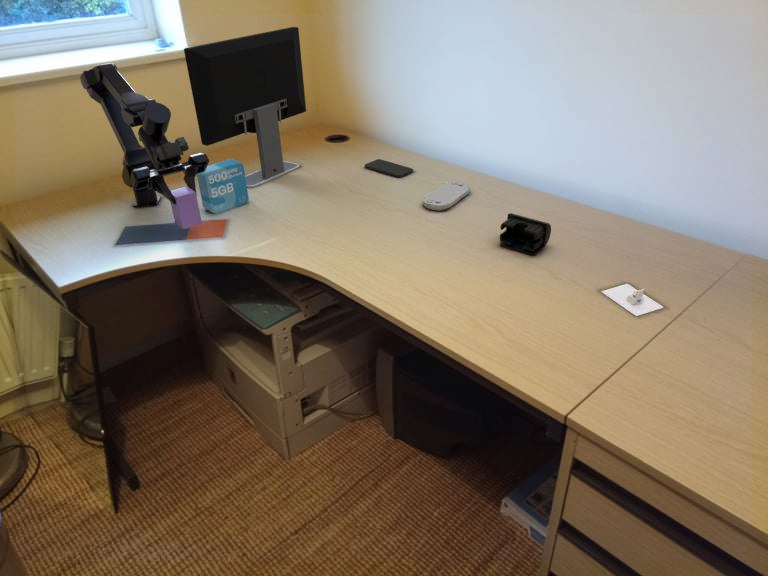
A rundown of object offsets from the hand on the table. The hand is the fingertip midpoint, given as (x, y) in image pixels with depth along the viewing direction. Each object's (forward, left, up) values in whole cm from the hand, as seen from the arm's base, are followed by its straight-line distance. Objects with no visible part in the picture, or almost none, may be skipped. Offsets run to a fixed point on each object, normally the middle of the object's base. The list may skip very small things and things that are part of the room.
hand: (185, 200), depth 144 cm
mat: (-2, -5, -9) cm, 11 cm away
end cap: (+19, +80, -10) cm, 83 cm away
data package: (-17, +7, -10) cm, 20 cm away
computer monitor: (-40, +17, -10) cm, 44 cm away
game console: (-11, +68, -10) cm, 69 cm away
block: (-1, -1, -7) cm, 7 cm away
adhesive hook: (+45, +94, -10) cm, 104 cm away
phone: (-37, +55, -9) cm, 67 cm away
